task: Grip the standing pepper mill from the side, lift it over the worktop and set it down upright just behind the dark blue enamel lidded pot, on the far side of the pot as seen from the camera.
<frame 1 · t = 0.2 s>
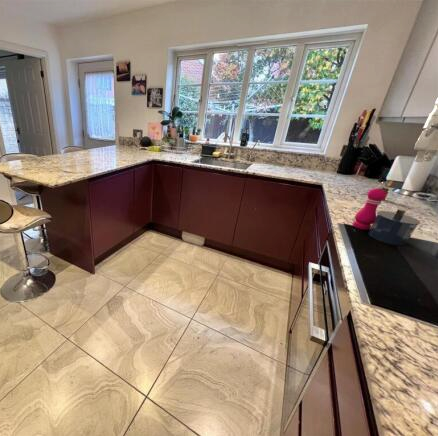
hand: (422, 161, 92), 31 cm above the worktop, tool pointing down, fingers open, 8 cm apart
pot: (386, 238, 98), on the worktop
pepper mill: (360, 227, 108), on the worktop
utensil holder: (378, 198, 148), on the worktop
pot lid: (397, 218, 94), point 9 cm above the worktop, touching pot
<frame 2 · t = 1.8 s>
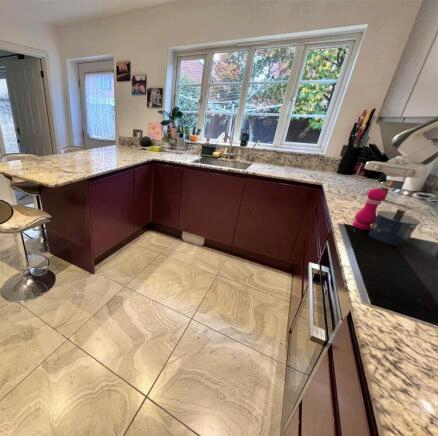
hand: (391, 170, 104), 25 cm above the worktop, tool horizontal, fingers open, 8 cm apart
nothing on the worktop moved.
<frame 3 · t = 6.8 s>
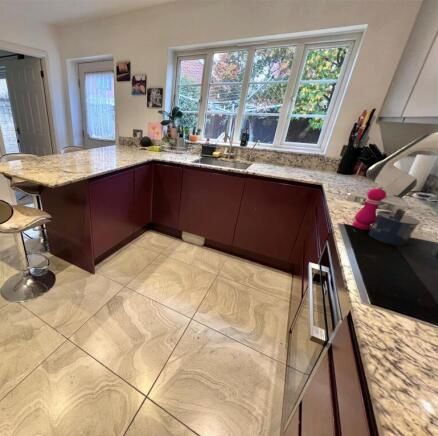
hand: (371, 205, 102), 11 cm above the worktop, tool horizontal, fingers closed on pepper mill, 5 cm apart
pepper mill: (360, 227, 108), on the worktop, touching gripper
everything else where it was.
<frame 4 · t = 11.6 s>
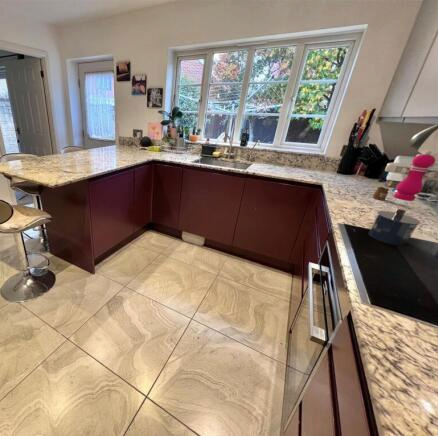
hand: (416, 173, 94), 26 cm above the worktop, tool horizontal, fingers closed on pepper mill, 5 cm apart
pepper mill: (403, 199, 99), point 15 cm above the worktop, touching gripper
everything else where it was.
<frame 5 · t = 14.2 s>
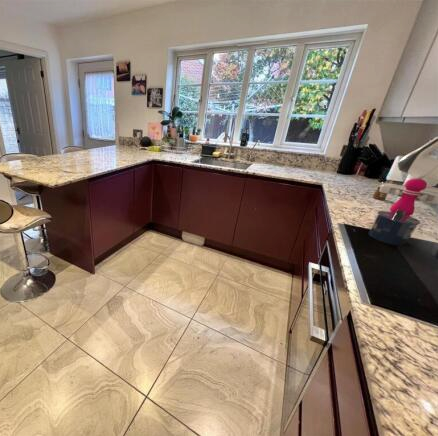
hand: (409, 196, 98), 17 cm above the worktop, tool horizontal, fingers closed on pepper mill, 5 cm apart
pepper mill: (396, 219, 103), point 5 cm above the worktop, touching gripper
everything else where it was.
when the fingers open (11 cm above the worktop, at t = 16.3 s): pepper mill stays where it is, on the worktop.
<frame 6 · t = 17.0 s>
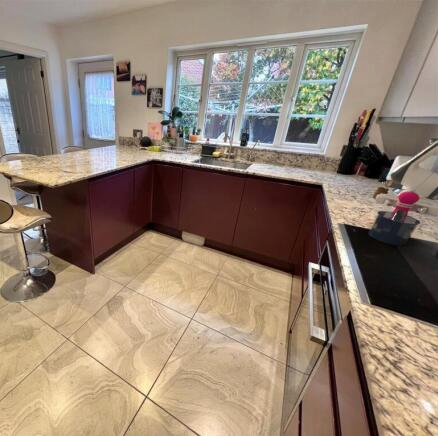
hand: (403, 207, 100), 12 cm above the worktop, tool horizontal, fingers open, 8 cm apart
pepper mill: (390, 230, 105), on the worktop
everything else where it was.
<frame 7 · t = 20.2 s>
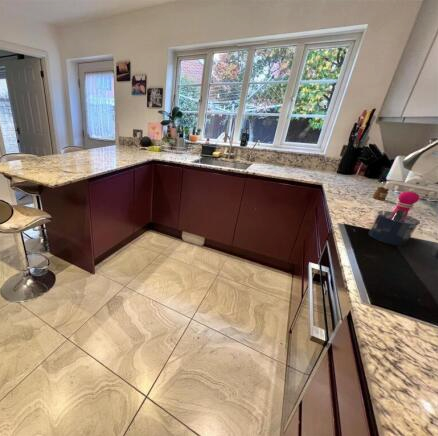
hand: (412, 192, 105), 16 cm above the worktop, tool horizontal, fingers open, 8 cm apart
nothing on the worktop moved.
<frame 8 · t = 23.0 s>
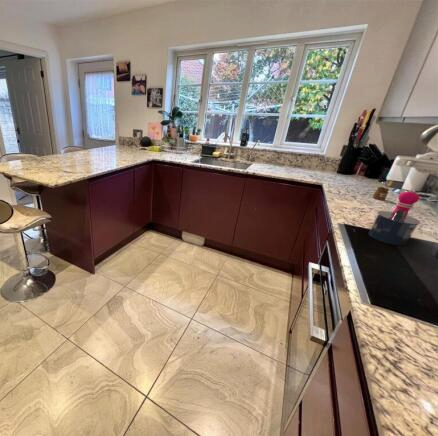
hand: (426, 166, 100), 28 cm above the worktop, tool horizontal, fingers open, 8 cm apart
nothing on the worktop moved.
at the end: pepper mill inside the target area on the worktop beside the pot (0.1 cm from its centre), on the worktop; pepper mill tilted 0°; the gripper is holding nothing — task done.
